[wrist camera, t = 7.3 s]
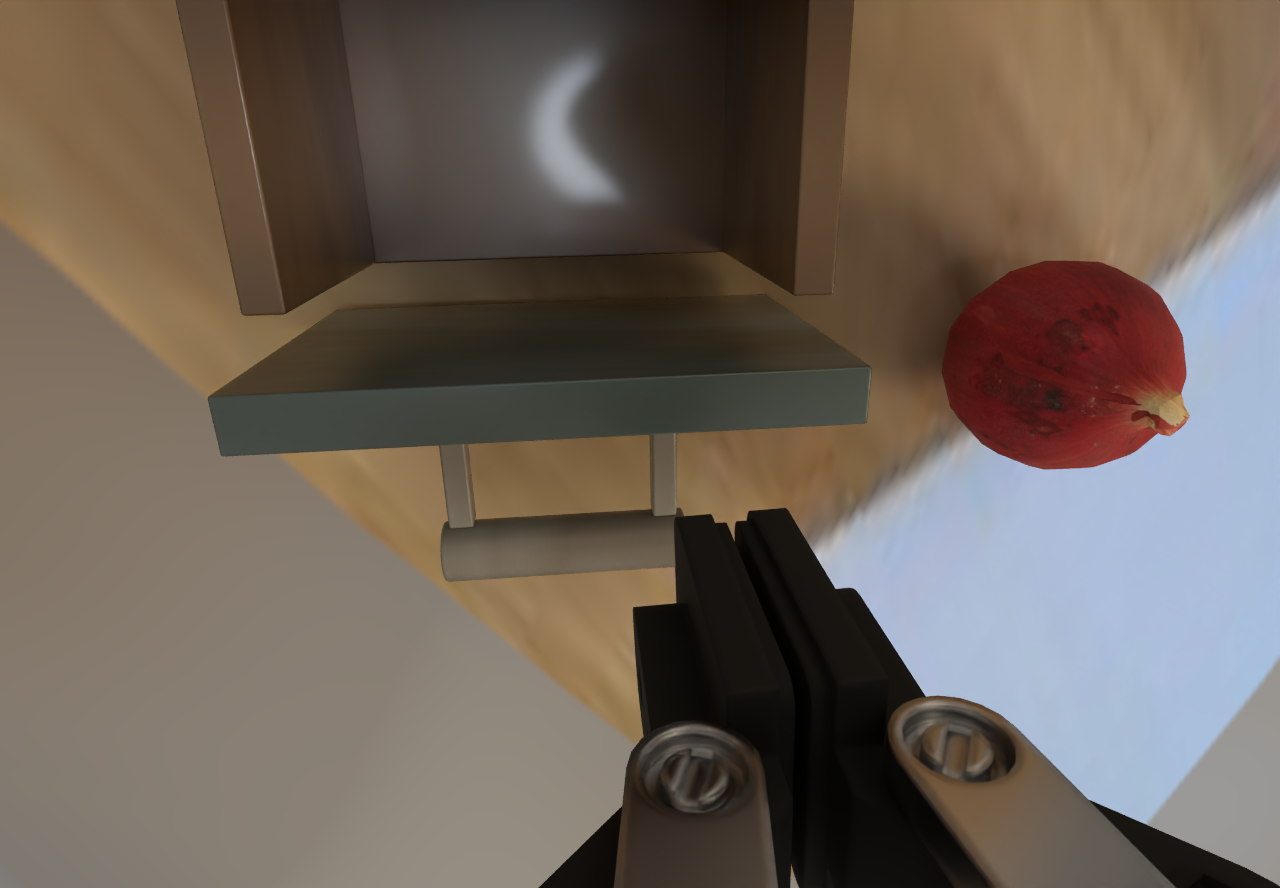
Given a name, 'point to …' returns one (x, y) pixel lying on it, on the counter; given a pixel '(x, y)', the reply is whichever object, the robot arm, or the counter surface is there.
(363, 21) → the drawer
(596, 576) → the counter surface
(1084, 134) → the counter surface
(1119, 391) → the onion
